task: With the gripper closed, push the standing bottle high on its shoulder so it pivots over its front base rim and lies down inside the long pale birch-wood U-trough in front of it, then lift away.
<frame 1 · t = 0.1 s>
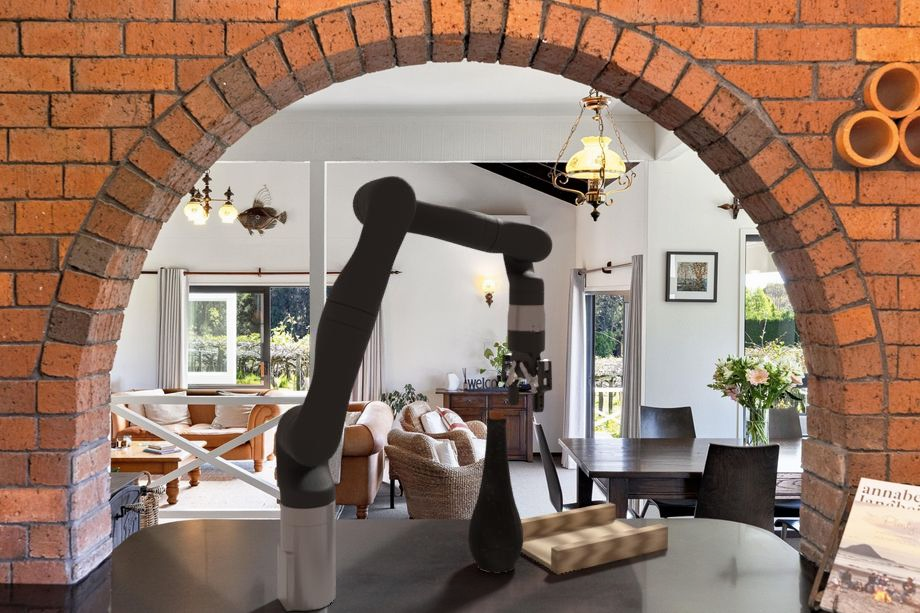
hand: (525, 408, 147), 29 cm above the table, fingers open, 8 cm apart
bottle: (495, 567, 141), on the table
trough: (586, 545, 152), on the table
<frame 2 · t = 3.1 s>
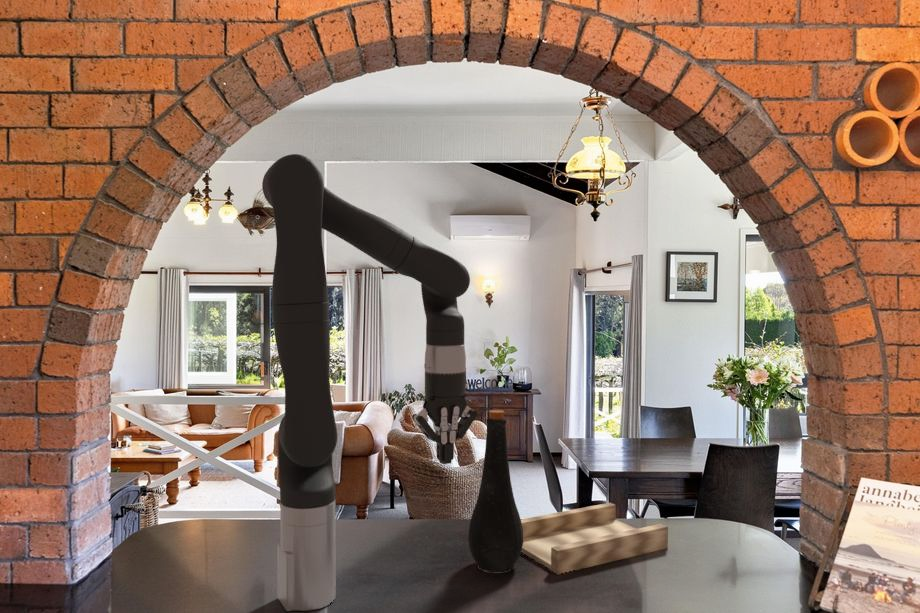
hand: (445, 462, 135), 21 cm above the table, fingers closed
nothing on the table moved.
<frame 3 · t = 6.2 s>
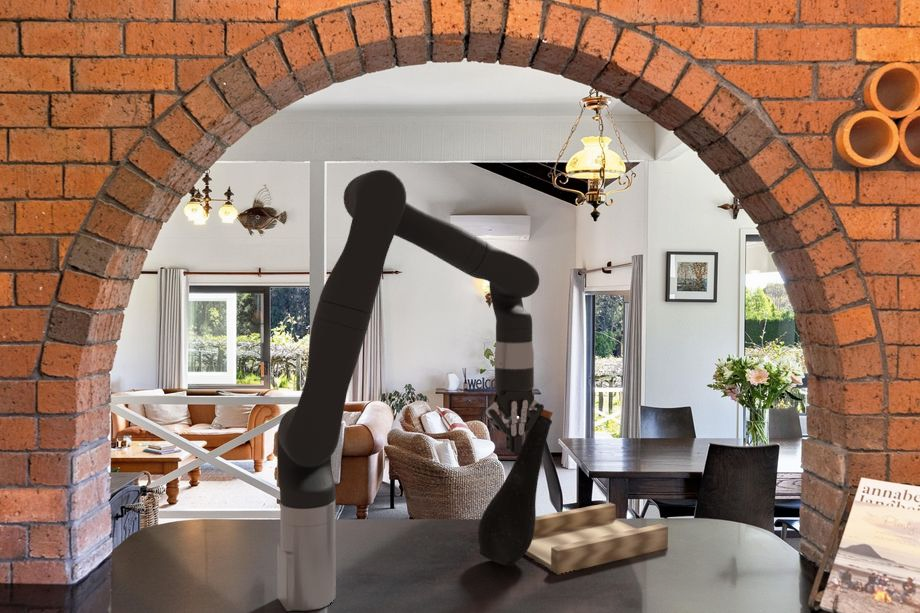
hand: (514, 453, 142), 21 cm above the table, fingers closed
bottle: (496, 560, 141), point 1 cm above the table
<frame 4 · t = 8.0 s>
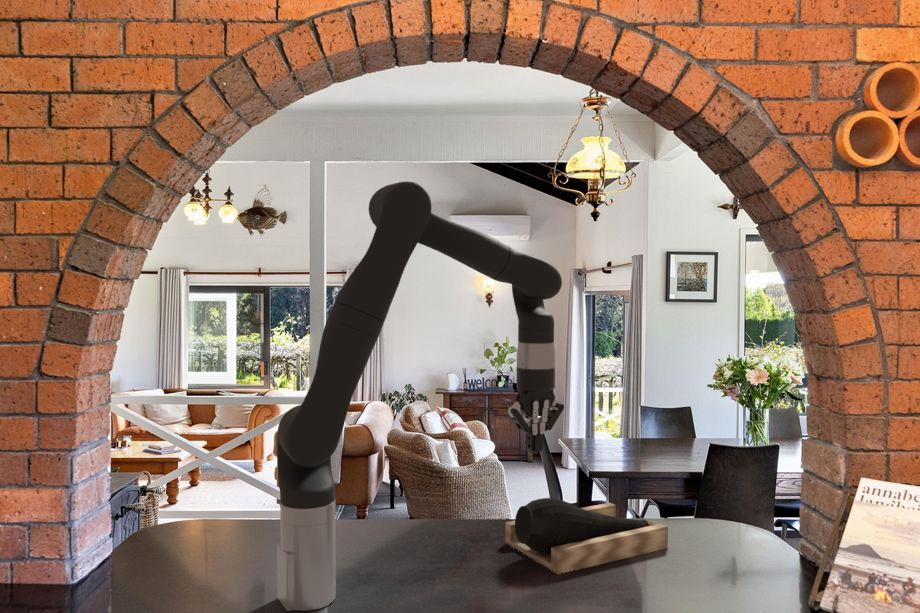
hand: (535, 452, 144), 21 cm above the table, fingers closed
bottle: (522, 524, 142), point 7 cm above the table, touching trough
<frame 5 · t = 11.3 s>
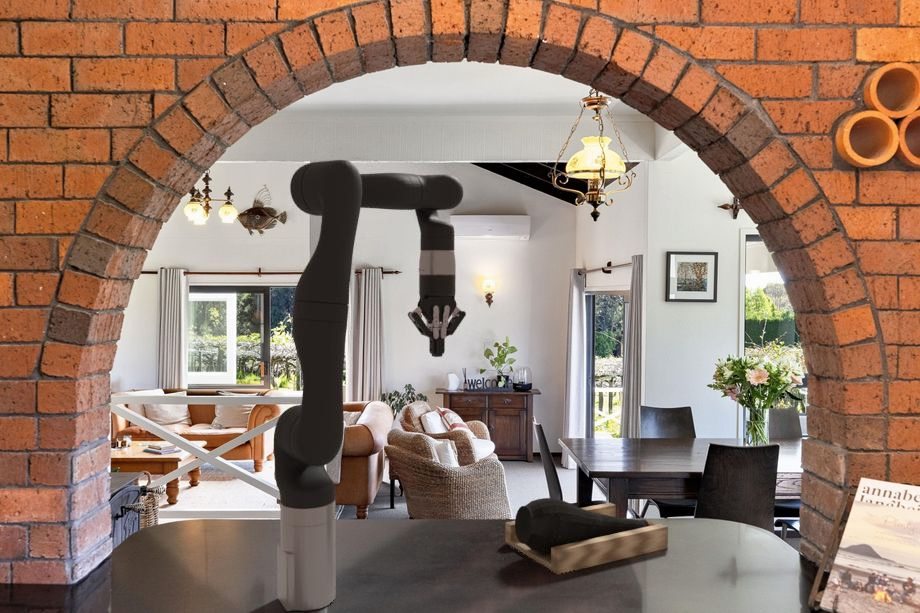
hand: (437, 356, 152), 39 cm above the table, fingers closed
nothing on the table moved.
at the end: bottle tilted 99°; bottle inside the target area on the trough (8.5 cm from its centre), point 7.4 cm above the trough's base; bottle touching trough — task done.
